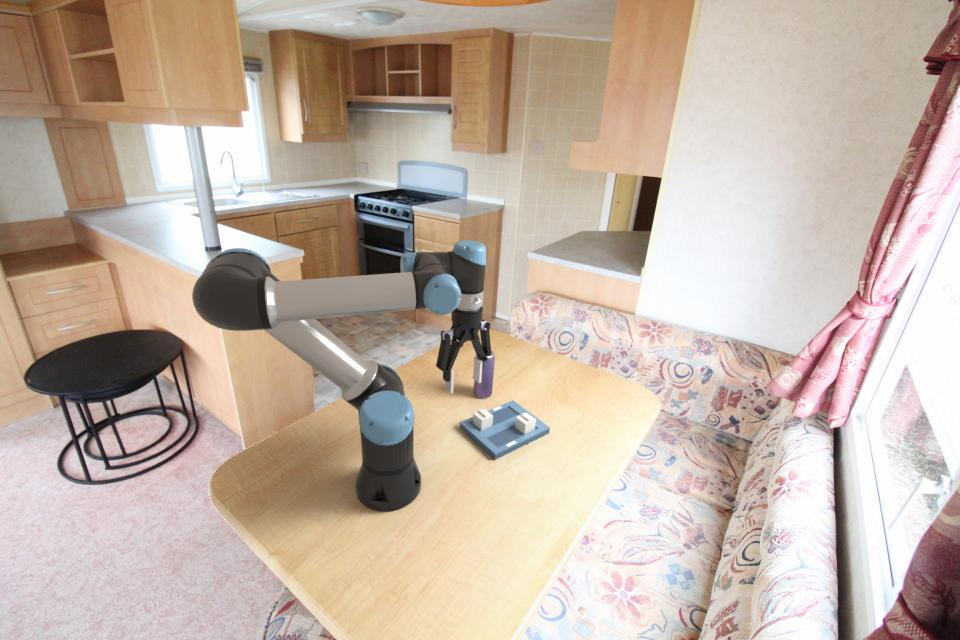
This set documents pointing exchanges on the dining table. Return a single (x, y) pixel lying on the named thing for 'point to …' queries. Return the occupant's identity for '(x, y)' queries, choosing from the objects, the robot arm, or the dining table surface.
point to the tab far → (482, 419)
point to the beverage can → (485, 379)
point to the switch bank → (503, 430)
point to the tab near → (525, 423)
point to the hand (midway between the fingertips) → (463, 385)
